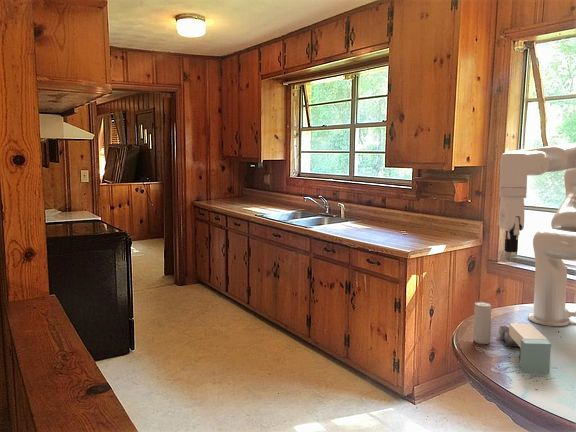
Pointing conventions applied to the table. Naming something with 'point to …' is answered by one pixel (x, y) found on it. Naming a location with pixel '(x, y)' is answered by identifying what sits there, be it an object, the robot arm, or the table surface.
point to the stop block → (535, 356)
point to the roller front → (509, 340)
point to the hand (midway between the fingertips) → (510, 251)
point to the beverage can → (482, 322)
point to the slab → (524, 332)
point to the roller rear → (503, 331)
